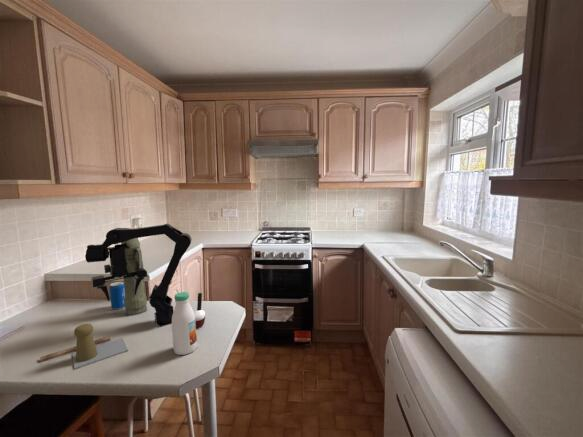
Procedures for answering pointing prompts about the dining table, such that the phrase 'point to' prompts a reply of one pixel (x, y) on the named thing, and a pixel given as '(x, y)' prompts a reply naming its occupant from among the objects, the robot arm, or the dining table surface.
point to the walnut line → (70, 350)
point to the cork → (85, 343)
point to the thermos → (134, 261)
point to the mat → (103, 352)
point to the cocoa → (199, 313)
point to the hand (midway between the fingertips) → (122, 297)
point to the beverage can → (117, 295)
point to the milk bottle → (183, 325)
